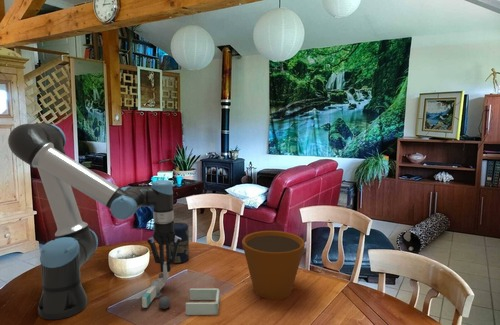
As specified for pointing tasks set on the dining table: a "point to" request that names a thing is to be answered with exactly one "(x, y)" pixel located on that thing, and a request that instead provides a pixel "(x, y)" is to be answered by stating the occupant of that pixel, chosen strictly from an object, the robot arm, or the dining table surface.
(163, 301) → the ball
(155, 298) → the pivot base
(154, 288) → the teal-tipped knobbed bar
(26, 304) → the dining table surface
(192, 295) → the box
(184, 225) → the canister
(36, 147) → the robot arm
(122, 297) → the dining table surface
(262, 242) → the flower pot
